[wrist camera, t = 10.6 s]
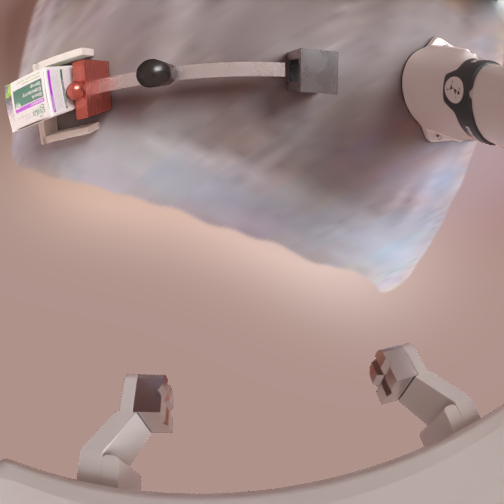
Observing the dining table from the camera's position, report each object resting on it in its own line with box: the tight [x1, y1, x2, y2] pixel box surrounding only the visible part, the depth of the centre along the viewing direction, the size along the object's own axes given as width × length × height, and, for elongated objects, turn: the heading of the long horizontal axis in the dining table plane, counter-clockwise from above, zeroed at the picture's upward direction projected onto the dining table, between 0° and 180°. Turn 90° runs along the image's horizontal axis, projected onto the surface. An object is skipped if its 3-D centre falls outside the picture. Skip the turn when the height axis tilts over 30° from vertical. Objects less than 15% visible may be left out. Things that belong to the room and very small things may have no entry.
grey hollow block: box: [287, 48, 338, 95], centre depth 32 cm, size 4×5×7 cm
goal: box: [33, 48, 99, 145], centre depth 30 cm, size 8×12×4 cm, turn 1°
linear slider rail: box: [66, 59, 285, 120], centre depth 28 cm, size 24×7×12 cm, turn 91°
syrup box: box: [5, 66, 76, 132], centre depth 26 cm, size 6×6×14 cm
